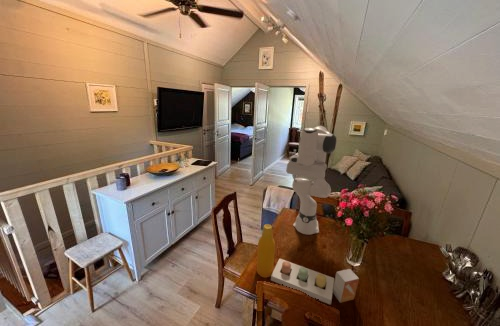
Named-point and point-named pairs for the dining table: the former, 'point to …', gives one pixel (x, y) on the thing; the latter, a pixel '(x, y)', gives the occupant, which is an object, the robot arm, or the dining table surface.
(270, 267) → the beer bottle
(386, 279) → the dining table surface
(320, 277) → the mustard button
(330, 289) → the board
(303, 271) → the green button
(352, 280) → the small box
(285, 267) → the terracotta button
